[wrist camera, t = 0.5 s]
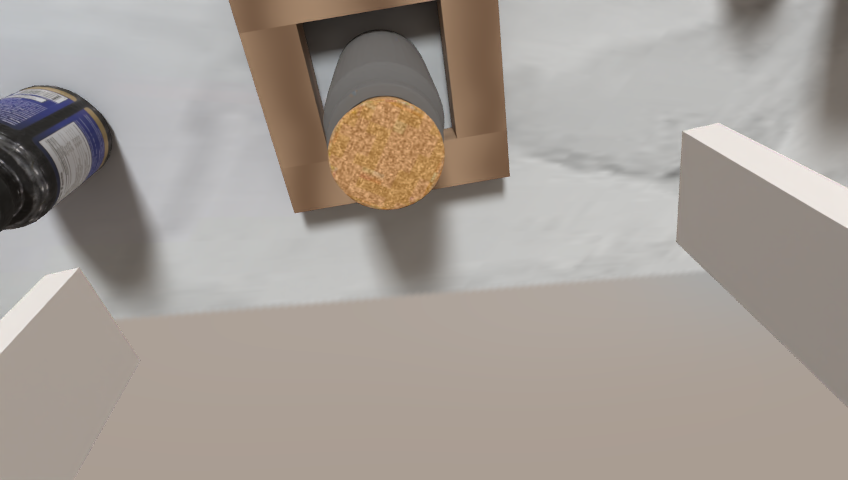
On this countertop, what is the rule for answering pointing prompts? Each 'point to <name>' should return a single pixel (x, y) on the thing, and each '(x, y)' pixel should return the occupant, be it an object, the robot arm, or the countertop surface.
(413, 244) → the countertop surface
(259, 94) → the brown wooden square frame
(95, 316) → the robot arm
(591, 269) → the countertop surface
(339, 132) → the bottle
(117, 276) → the countertop surface
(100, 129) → the pill bottle
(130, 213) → the countertop surface
